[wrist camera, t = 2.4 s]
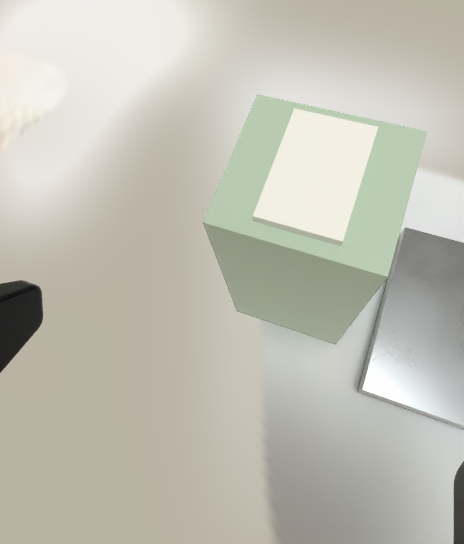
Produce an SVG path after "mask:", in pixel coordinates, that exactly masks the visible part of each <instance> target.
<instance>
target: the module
mask: <svg viewBox="0 0 464 544" xmlns="http://www.w3.org/2000/svg"><path fill="white" fill-rule="evenodd" d="M426 133H427V132H426V131H422V130H418V129H413V128H409V127H404V126H400V125H395V124H390V123H386V122H381V121H376V120H372V119H367V118H363V117H358V116H354V115H349V114H344V113H340V112H335V111H331V110H326V109H321V108H317V107H312V106H307V105H303V104H299V103H294V102H290V101H285V100H280V99H276V98H271V97H267V96H262V95H257V96H256V98H255V101H254V103H253V105H252V108H251V110H250V113H249V115H248V117H247V120H246V122H245V124H244V127H243V129H242V131H241V134H240V136H239V139H238V141H237V143H236V145H235V148H234V150H233V153H232V155H231V157H230V160H229V163H228V165H227V167H226V169H225V171H224V174H223V176H222V179H221V181H220V183H219V186H218V188H217V190H216V193H215V195H214V197H213V200H212V202H211V205H210V207H209V209H208V212H207V214H206V216H205V219H204V221H203V224H204V227H205V229H206V232H207V234H208V237H209V240H210V242H211V245H212V247H213V250H214V253H215V255H216V258H217V260H218V263H219V265H220V268H221V271H222V273H223V276H224V279H225V281H226V284H227V286H228V289H229V292H230V294H231V297H232V299H233V302H234V304H235V307H236V310H237V311H238V312H241V313H244V314H248V315H250V316H253V317H256V318H259V319H262V320H265V321H268V322H271V323H274V324H277V325H280V326H283V327H286V328H289V329H292V330H295V331H298V332H301V333H304V334H307V335H310V336H313V337H315V338H318V339H321V340H324V341H327V342H330V343H333V344H336V343H337V342H338V340H339V339H340V338H341V336H342V335H343V334H344V333H345V331H346V330H347V329H348V327H349V326H350V325H351V324H352V322H353V321H354V320H355V319H356V317H357V316H358V315H359V313H360V312H361V311H362V310H363V308H364V307H365V306H366V304H367V303H368V302H369V301H370V299H371V298H372V297H373V295H374V294H375V293H376V292H377V290H378V289H379V288H380V287H381V285H382V284H383V283H384V281H385V280H386V279H387V278H388V275H389V271H390V267H391V264H392V260H393V256H394V252H395V249H396V245H397V241H398V238H399V234H400V230H401V226H402V223H403V219H404V215H405V211H406V208H407V204H408V200H409V197H410V193H411V189H412V185H413V182H414V178H415V174H416V170H417V167H418V163H419V159H420V155H421V151H422V148H423V144H424V140H425V137H426Z"/></svg>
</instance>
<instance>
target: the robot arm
mask: <svg viewBox="0 0 464 544" xmlns="http://www.w3.org/2000/svg"><path fill="white" fill-rule="evenodd" d="M42 320H43V307H42V292H41V289H40V287H39V286H37V285H35V284H32V283H29V282H27V281H22V280H21V281H14V282H9V283H2V284H0V372H1V371H2V370H3V369H4V368H5V367H6V366H7V364H8V363H9V362H10V361H11V360H12V359H13V357H14V356H15V355H16V354H17V353H18V352H19V350H20V349H21V348H22V347H23V346H24V345H25V343H26V342H27V341H28V340H29V339H30V338H31V336H32V335H33V334H34V333H35V332H36V331H37V329H38V328H39V327H40V325H41V323H42ZM454 544H464V461H463V463H462V464H461V466H460V467H459V469H458V471H457V473H456V475H455V480H454Z"/></svg>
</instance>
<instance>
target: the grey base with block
mask: <svg viewBox="0 0 464 544" xmlns="http://www.w3.org/2000/svg"><path fill="white" fill-rule="evenodd" d="M358 392H361V393H363V394H366V395H369V396H372V397H375V398H377V399H380V400H383V401H386V402H389V403H391V404H394V405H397V406H400V407H403V408H405V409H408V410H411V411H414V412H417V413H419V414H422V415H425V416H428V417H431V418H433V419H436V420H439V421H442V422H445V423H447V424H450V425H453V426H456V427H459V428H461V429H464V243H462V242H458V241H454V240H450V239H447V238H443V237H439V236H435V235H432V234H428V233H424V232H420V231H417V230H413V229H409V228H405V229H404V230H403V232H402V233H401V235H400V236H399V238H398V242H397V245H396V249H395V253H394V257H393V260H392V264H391V268H390V272H389V275H388V279H387V283H386V287H385V290H384V294H383V298H382V301H381V305H380V309H379V313H378V316H377V320H376V324H375V328H374V331H373V335H372V339H371V342H370V346H369V350H368V354H367V357H366V361H365V365H364V369H363V372H362V376H361V380H360V384H359V387H358Z"/></svg>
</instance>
